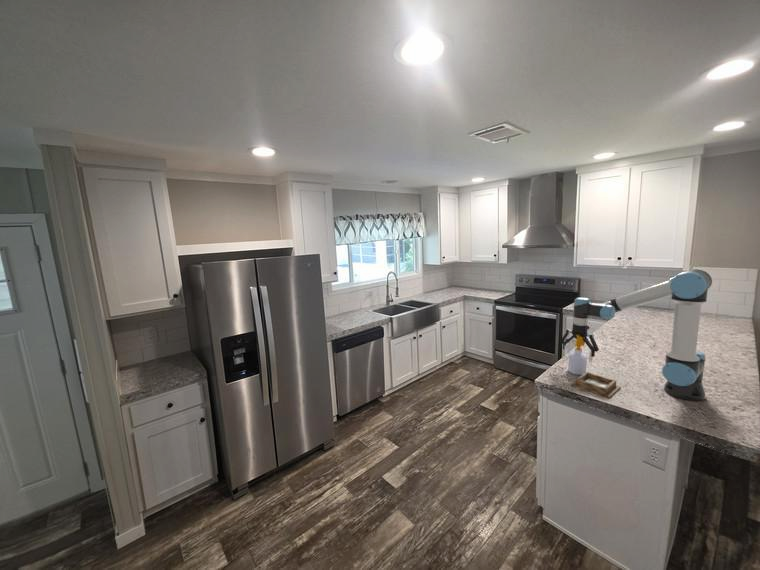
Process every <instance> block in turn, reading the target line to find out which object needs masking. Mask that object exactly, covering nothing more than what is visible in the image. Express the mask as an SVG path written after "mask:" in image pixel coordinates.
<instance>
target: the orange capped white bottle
mask: <svg viewBox="0 0 760 570" xmlns="http://www.w3.org/2000/svg"><path fill="white" fill-rule="evenodd" d="M576 336H577V339H576V341H575V342H573V344H574V345H575V346H576V347H574V348H575V349H574V351H573V352H570V353H569V355H568V367H567V368H568V369H567V371H568V372H569V373H571V374H573V375H577V376H581V375H583V374H584V373H586V372H587V360H588V357H587V355H586V354H585V353H584V352H583V351H582V349H583V348H581V347H583V346H584V347H585V345H586V343H585V342H584V341H583V338H582V337H581V336H579V334H577V335H576Z"/></svg>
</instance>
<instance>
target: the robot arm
mask: <svg viewBox="0 0 760 570" xmlns="http://www.w3.org/2000/svg"><path fill="white" fill-rule="evenodd" d="M712 284H713V279H712V276H711V275H710V274H709V273H708V272H707V271H704V270H702V269H699V268H698V269H695V268H694V269H688V270H686V271H682V272H679V273H678V274H676V275H675V276H673V277H671V278H669V280H667V281H665V282H661V283H658V284H654V285H652V286H649V287H646V288H642V289H640V290H635V291H634V292H631V293H627V294H624V295H621V296H619V297H618V296H617V297H615V298H612V299H608V300H606V301H604V302H601V303H597V302H596V303H594V302H591V299H590V298H588V297H576V298H575V299H574V302H573V315H572V327H571V328H572V329H570V328H568V329H566V330H565V334H564V335H562V337H561V339H560V341H559V343H560V344H562V350H563V352H564V353H563V356H567V355H568V352H569V351H568V350H569V349H568V347H569V344H568V343H569V342H571V341H572V340H573V339H575V340H577V336H576V335H577V334H579V336H581V337H582V338H583V341H584V342H585V345H586V346H587V347H588V348H589V350H590V351H589V357H588V362H589V363H592V362H593V358H594V357H595V355H596V352H598V351H600V348H599V346H598V344H597V343H596V340H595V338H594V334H593V333H588V327H589V326H588V324H589V317H594V318H600V319H605V320H612V319H613V318H614V317H615V315H616V313H618V312H621V311H625V310H629V309H631V308H636V307H639V306H642V305H645V304H650V303H652V302H656V301H659V300H663V299H666V298H669V297H671V300H672V301H673V302H674V314H673V324H672V333H671V345H670V350H669V351H667V352H666V354H665V359H664V360H665V362H664V365H663V366H662V368H661V369H662V370H661V373H662V376H663V377H664V378H665V379H666V381H665V383H664V387H663V390H664V391H665V393H667V394H669V395H670V396H673V397H676V398H679V399H681V400H682V399H683V400H685V401H691V402H702V401H705V400H706V392H705V389H704V386H703V377H704V370H705V362H706V361H707V360H706V355H705V354H704V353H702V352H700V351H697V345H698V338H699V337H698V336H699V329H700V327H699V326H700V319H701V317H700V316H701V310H702V309H701V308H702V305H704V304H705V303H707V299H708V298H707V297H708V291H709V289H710V288H711V286H712ZM570 334H571V336H570V337H569V338H568V339H567V337H568V336H569V335H570ZM589 340H590V341H589Z"/></svg>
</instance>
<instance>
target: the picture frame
mask: <svg viewBox="0 0 760 570" xmlns="http://www.w3.org/2000/svg"><path fill="white" fill-rule="evenodd" d="M571 385H572V386H571ZM570 386H571V387H574V386H575V387H574V388H577V387H578V389H579V390H580V389H581V390H584V391H587V392H589V393H592V394H596V395H599V396H601V397H605V398H607V399H610V398H612V397H613V396H614V395H615V394H616V393H617V392H618V391H620V390H621V385H617V380H616V379H612V378H609V377H606V376H602V375H599V374H597V373H596V374H595V373H593V372H589V371H586V373H584V374H583V375H579V377H577V378H576V379H575V381H573V382H572V383H570Z"/></svg>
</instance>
